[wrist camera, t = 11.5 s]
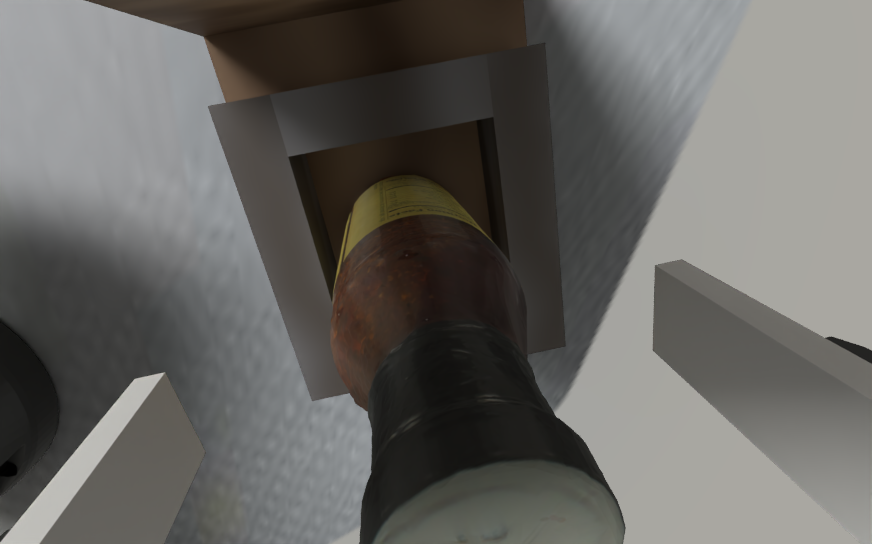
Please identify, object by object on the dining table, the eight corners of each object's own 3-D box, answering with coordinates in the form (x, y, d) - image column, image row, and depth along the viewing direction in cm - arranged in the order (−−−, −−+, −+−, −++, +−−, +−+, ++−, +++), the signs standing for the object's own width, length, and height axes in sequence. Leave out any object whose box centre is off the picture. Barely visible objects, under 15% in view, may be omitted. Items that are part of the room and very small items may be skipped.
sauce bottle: (424, 293, 27) (527, 744, 8) (328, 245, 25) (189, 690, 6) (483, 199, 25) (780, 510, 7) (384, 140, 23) (413, 344, 5)
